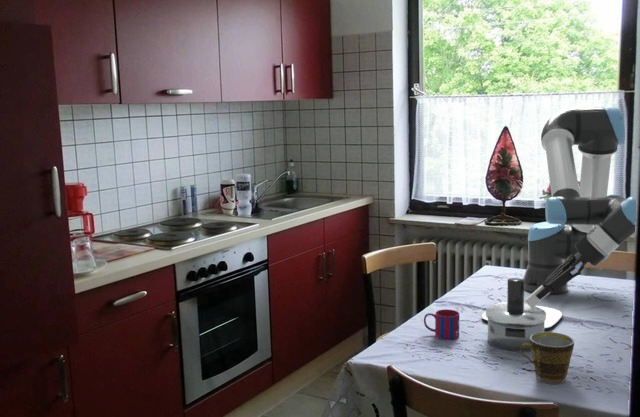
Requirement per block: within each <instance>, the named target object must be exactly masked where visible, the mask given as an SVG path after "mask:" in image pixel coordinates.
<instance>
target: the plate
mask: <svg viewBox="0 0 640 417" xmlns="http://www.w3.org/2000/svg"><path fill="white" fill-rule="evenodd" d="M501 303H507V301H503V302H499V303H497V304H501ZM526 304H527V303H526ZM527 305H528V304H527ZM535 307H538V308H540V309H542V310H544V311H545V312H546V320H545V323H544V330H546V329H550V328H552V327H554V326H556V324H557V323H558V322H559V321H560V320H561V319H562V316H563V313H562V312H561V310H559V309H556V308H553V307H547V306H544V305H543V306H542V305H541V306H540V305H536V306H535ZM481 318H482V320H484V321H486V322H488V318H487V317H486V310H485V311H484V312H483V313H482V314H481Z"/></svg>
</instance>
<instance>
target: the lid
mask: <svg viewBox="0 0 640 417" xmlns="http://www.w3.org/2000/svg"><path fill="white" fill-rule="evenodd" d="M506 294H507V295H506V296H507V299H506V300H507V301H506V302H507V303H502V302H500V303H501V304H498V303H495V304H492V305H489V306H488V307H486V308H485V311H486V317H487V318H488V319H490V320H491V321H494V322H497V323H500V324H505V325H513V326H530V325H536V324H540V323H542V322H544V321H545V320H546V312H545V311H544V310H542V309H540V308H538V307H535V306H534V307H533V308H531V307H530V306H529V305H527V303H525V290H524V280H523V278H518V277H512V278H511V277H510V278H508V279H507V292H506Z"/></svg>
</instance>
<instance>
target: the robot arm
mask: <svg viewBox="0 0 640 417" xmlns="http://www.w3.org/2000/svg"><path fill="white" fill-rule="evenodd" d="M625 128H626V127H625V120H624V117H623V113H622V111H621V109H620V108H618V107H614V106H613V107H611V106H610V107H609V106H597V107H596V106H595V107H567V108H564V109H561V110H559V111H557V112H556V113H554V114H553V115H551V117H550V118H549V119H548V120H547V121H546V123H544V126H543V128H542V131H541V134H540V135H541V136H540V142H541V147H542V149H543V150H544V151H545V154H546V162H547V170H548V179H549V185H550V186H549V188H550V194H551V197H547V198H546V200H545V207H544V208H545V210H544V211H545V220H546V221H542V222H537V223H535V224H532V225H531V226H530V227H529V228H528V237H527V241H528V243H527V244H528V247H527V267H526V270H525V272H524V275H523V278H522V279H523V280H524V291H526V292H528V293H529V292H530V293H531V294H530V295H528V296H527V297H526V298H524V303H525V304H528V305H529V306H530V307H531V308H533V307H534V306H538V304H539V303H540V302H542V301H543V300H544V299H545V298H546V297H547V296H549V295H559V294H564V293H566V292H568V285H569V284H568V283H569V282H570V281H571V280H573V279H574V278H576V277H577V276H579V275H580V274H581V272H582V271H583V270H584V269H585V266H586V264H587V263H589V264H591V265H592V266H595V267H596V266H597V265H599V264H600V263H601V262H602V261H605V260H607V259H608V257H610V254H612V253H613V252H614V251H615V250H616V249H618V248H619V247H620V246H621V245H622V244H623V243H624V242H625V241H626V240H628V239H629V238H630V237H632V235H634V234H635V233H636V232H635V226H636V225H635V222H636V199H637V198H636V197H634V196H629V197H627V198H624V197H622V196H621V195H618V194H609V195H608V190H609V179H610V173H611V172H610V170H611V162H612V156H613V155H614V154H615V153H616V152H618V147H619V146H621V145H623V144H625V140H626V129H625ZM575 145H576V146H577V149H578V151H579V152H580V153H581V154H582V157H581V158H582V159H581V167H580V178H579V179H580V180H579V182H578V176H577V171H576V170H577V169H576V164H575V156H574V152H573V146H575ZM618 145H619V146H618ZM567 225H568V226H567ZM569 225H570V226H569Z"/></svg>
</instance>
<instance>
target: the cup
mask: <svg viewBox="0 0 640 417" xmlns="http://www.w3.org/2000/svg"><path fill="white" fill-rule="evenodd" d="M428 316H432V317H433V318H434V320H435V323H434V324H435V325H434V327H435V328H431V327H430V326H428V324H427V321H426V319H427V317H428ZM423 324H424V326H425V328H426V329H427V330H429V331H431V332H433V333H435V334H434V335H435V337H436V338H437V339H440V340H445V341H451V340H452V341H453V340H457V339H458V338H460V312H459V311H457V310H454V309H438V310H436V312H435V313H432V312H431V313H430V312H428V313H426V314H425V315H424V317H423Z"/></svg>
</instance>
